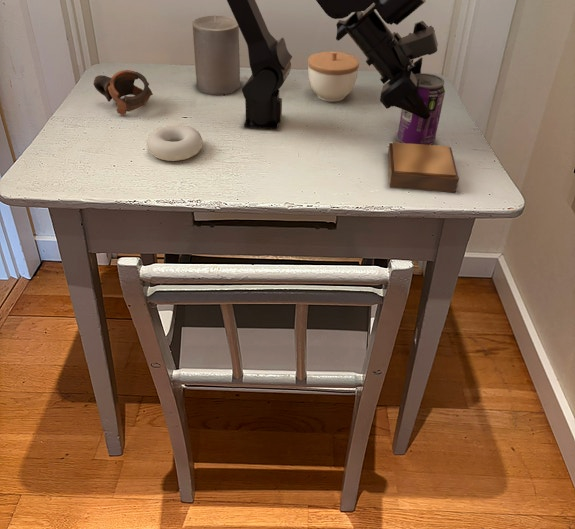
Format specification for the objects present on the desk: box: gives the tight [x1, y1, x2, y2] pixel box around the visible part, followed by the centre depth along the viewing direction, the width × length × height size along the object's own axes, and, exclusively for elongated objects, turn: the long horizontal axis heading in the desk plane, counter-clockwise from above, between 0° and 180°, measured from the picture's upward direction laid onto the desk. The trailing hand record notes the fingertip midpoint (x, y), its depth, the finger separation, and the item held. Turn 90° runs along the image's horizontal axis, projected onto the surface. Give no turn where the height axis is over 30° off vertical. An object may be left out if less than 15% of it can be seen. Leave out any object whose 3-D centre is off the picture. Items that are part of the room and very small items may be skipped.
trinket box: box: [307, 51, 360, 103], centre depth 121 cm, size 11×11×9 cm
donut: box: [146, 124, 204, 162], centre depth 102 cm, size 10×4×10 cm
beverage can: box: [397, 72, 446, 145], centre depth 105 cm, size 7×7×12 cm
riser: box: [386, 141, 460, 193], centre depth 98 cm, size 11×11×3 cm
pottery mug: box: [92, 69, 154, 116], centre depth 115 cm, size 12×10×8 cm
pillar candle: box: [192, 15, 241, 96], centre depth 121 cm, size 10×10×15 cm
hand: (429, 109), depth 104 cm, fingers closed on beverage can, 7 cm apart
